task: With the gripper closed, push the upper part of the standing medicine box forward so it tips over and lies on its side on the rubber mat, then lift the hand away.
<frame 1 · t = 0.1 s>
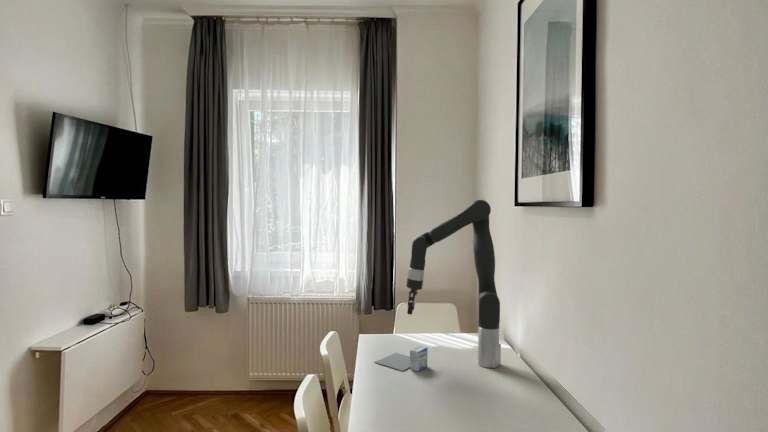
hand: (410, 311, 193), 22 cm above the table, tool pointing down, fingers open, 8 cm apart
rubber mat: (399, 362, 189), on the table
medicine box: (418, 368, 182), on the table
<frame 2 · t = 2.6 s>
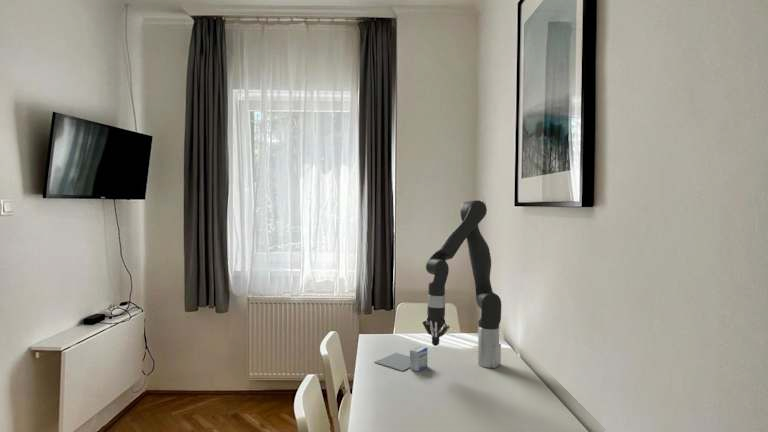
hand: (435, 345, 177), 12 cm above the table, tool pointing down, fingers closed
nothing on the table moved.
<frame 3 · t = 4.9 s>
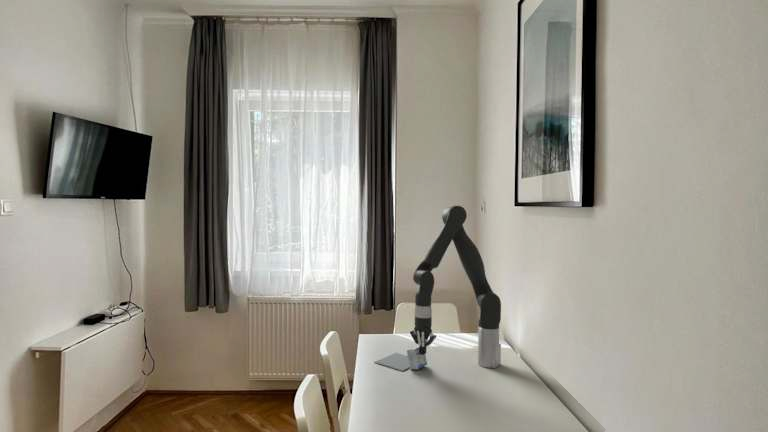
hand: (422, 354, 181), 7 cm above the table, tool pointing down, fingers closed
medicine box: (418, 367, 182), on the table, touching gripper
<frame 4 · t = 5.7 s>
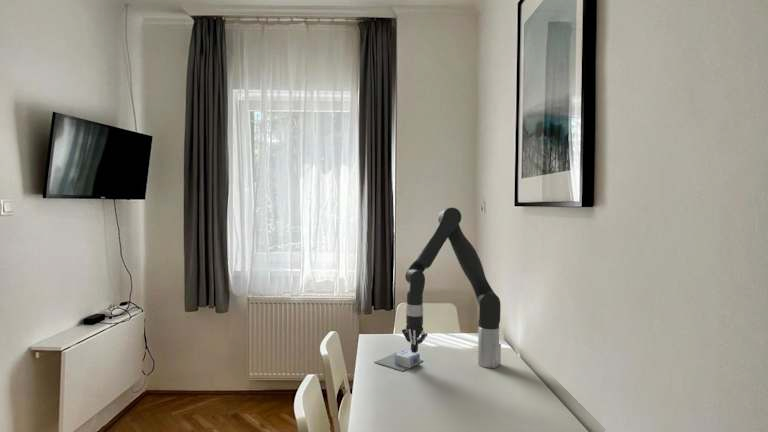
hand: (414, 352, 184), 7 cm above the table, tool pointing down, fingers closed
medicine box: (415, 361, 183), point 3 cm above the table, touching rubber mat
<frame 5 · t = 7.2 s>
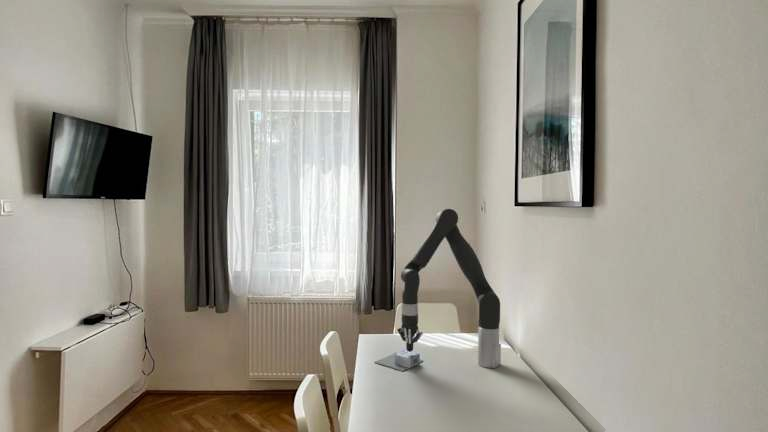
hand: (409, 351, 186), 6 cm above the table, tool pointing down, fingers closed
nothing on the table moved.
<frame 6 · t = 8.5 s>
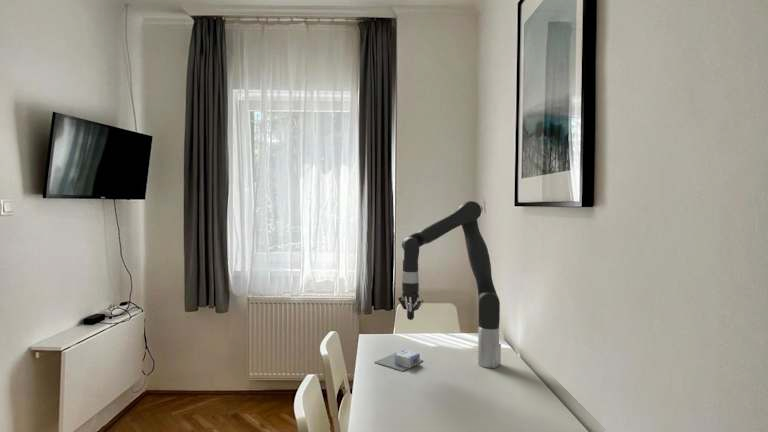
hand: (410, 319, 185), 21 cm above the table, tool pointing down, fingers closed
nothing on the table moved.
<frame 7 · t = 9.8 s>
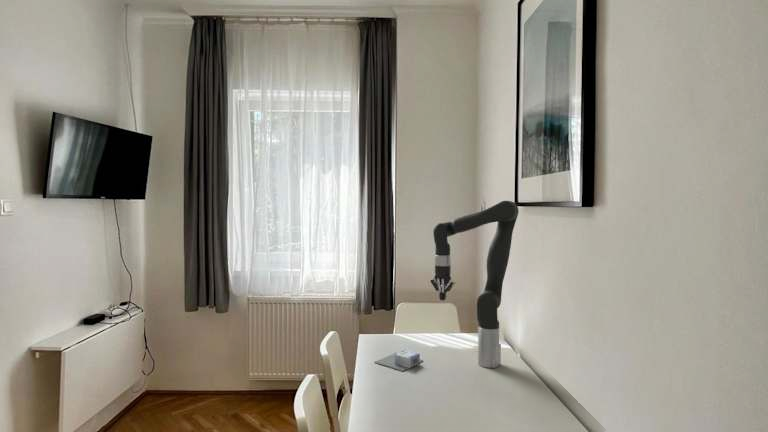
hand: (442, 300, 198), 27 cm above the table, tool pointing down, fingers closed
nothing on the table moved.
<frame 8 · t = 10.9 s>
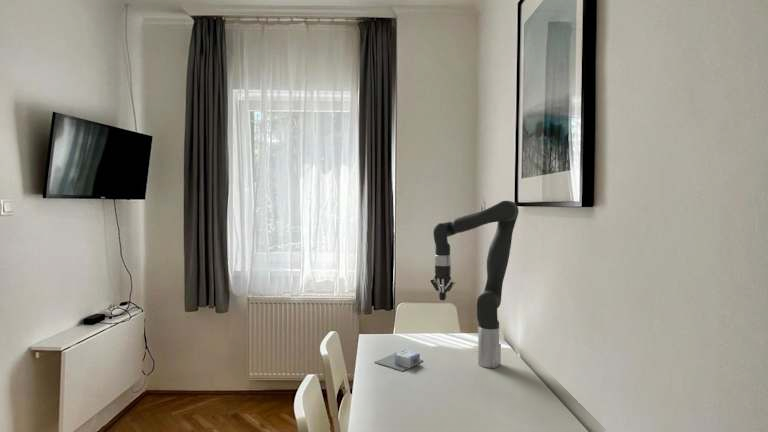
hand: (442, 300, 198), 27 cm above the table, tool pointing down, fingers closed
nothing on the table moved.
at the end: medicine box tilted 89°; medicine box touching rubber mat; medicine box inside the target area (6.3 cm from its centre), point 2.6 cm above the table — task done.
